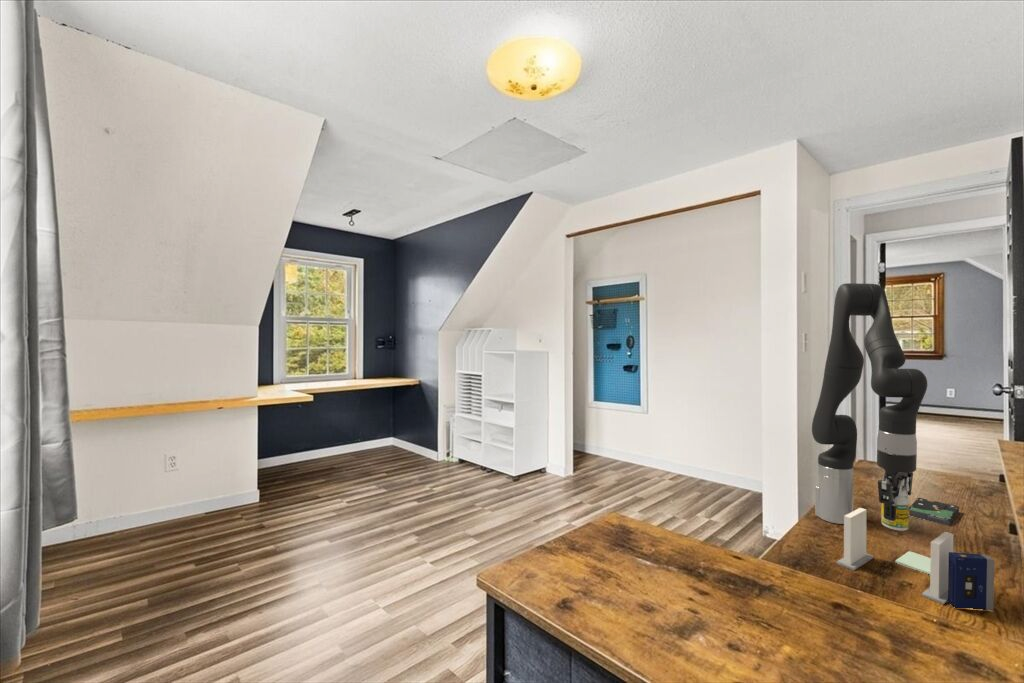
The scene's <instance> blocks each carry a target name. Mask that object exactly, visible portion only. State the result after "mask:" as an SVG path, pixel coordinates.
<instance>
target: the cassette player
mask: <svg viewBox="0 0 1024 683" xmlns="http://www.w3.org/2000/svg"><path fill="white" fill-rule="evenodd" d="M994 592H995V559H994V558H993V557H992V556H988V555H987V554H983V553H970V552H968V553H967V552H954V551H953V552H949V566H948V602H947V604H949V605H950V604H951V605H952V606H953V607H955V608H973V609H983V610H991V611H993V612H994V604H995V602H994V601H995V600H994V598H995V597H994V596H995V595H994V594H995V593H994ZM951 605H950V606H951ZM952 606H951V607H952ZM953 607H952V608H953ZM955 608H954V609H955Z"/></svg>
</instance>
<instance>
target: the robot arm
mask: <svg viewBox="0 0 1024 683" xmlns="http://www.w3.org/2000/svg"><path fill="white" fill-rule="evenodd" d="M832 314H833V315H832V316H833V317H832V326H831V334H830V341H829V346H828V351H827V354H826V355H827V356H826V360H825V366H824V369H823V370H824V372H823V378H822V385H821V390H820V394H819V398H818V401H817V404H816V408H815V412H814V415H813V417H812V423H811V424H812V425H811V433H812V437H813V440H814V441H815V442H816V443H817V444H820V445H832V446H831V447H830V448H829V449H827V450H824V451H823V452H820V453H819V454H818V456H817V485H816V486H815V487H814V503H815V504H814V515H816V517H818V518H819V519H822V520H823V521H826V522H828V523H832V524H833V523H834V524H839V525H844V516H845V515H847V514H849V513H851V512H853V511H854V462H855V460H856V457H857V456H856V455H857V443H858V442H857V441H858V428H857V424H856V422H855V420H854V419H853V417H851V416H850V415H846V414H837V411H838V409H839V407H840V404H842V403H843V401H844V400H845V399H846V398H847V397H848V396H849V395H850V394H851V393H852V392H853V391H854V389H855V388H857V386H858V384H860V383H859V382H860V381H861V378H862V374H863V369H864V365H865V364H864V363H865V359H864V358H865V357H864V355H863V352H862V350H861V349H860V347H859V345H858V344H857V342H856V340H855V338H854V336H853V334H852V332H851V329H850V318H851V316H856V317H857V316H858V317H859V316H861V317H863V316H870V317H871V318H872V319H873V322H872V324H871V326H870V327H869V329H868V330H867V332H866V333H865V336H864V338H863V339H864V341H863V342H864V349H865V352H866V354H867V356H868V358H869V361H870V364H871V365H870V366H871V367H870V368H871V376H870V387H871V390H872V391H873V393H875V394H876V395H877V396H880V397H881V398H882V397H883V398H901V399H900V401H899V402H898V403H896V404H893V405H886V406H883V407H881V408H880V410H879V414H878V434H877V439H876V440H877V441H876V443H877V444H876V466H878V467H879V468H881V469H882V470H884V474H883V476H882V479H878V480H877V490H878V502H879V503H881V504H882V503H884V518H885V519H888V520H891V521H894V520H896V503H897V498H898V497H900V496H901V490H902V489H903V488H904V489H905V490H906V496H905V497H906V498H907V499H908V500H909V496H911V495H912V489H913V488H912V487H913V480H914V479H913V477H914V472H916V471H917V459H918V458H917V454H918V442H917V441H918V440H917V418H918V417H917V416H918V413H919V410H920V407H921V404H922V402H923V400H924V397H925V396H926V392H927V389H928V380H927V377H926V375H925V373H924V372H922V370H920V369H917V368H902V367H903V366H904V365H905V364H906V359H907V358H906V355H905V352H904V351H903V348H902V347H901V344H900V342H899V340H898V339H897V336H896V334H895V333H896V332H895V330H894V326H893V320H892V315H891V311H890V306H889V303H888V298H887V294H886V292H885V290H884V288H883V287H882V286H881V285H879V284H876V283H849V282H848V283H842V284H841V285H840V286H839V287H838V288H837V290H836V293H835V297H834V304H833V313H832ZM893 491H897V492H896V493H893ZM887 497H888V499H889V500H888V499H887Z"/></svg>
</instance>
